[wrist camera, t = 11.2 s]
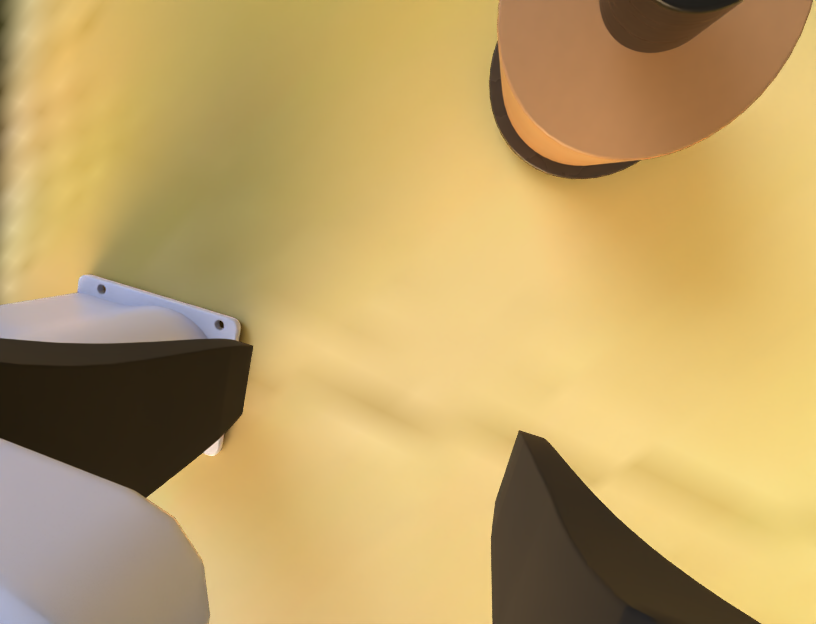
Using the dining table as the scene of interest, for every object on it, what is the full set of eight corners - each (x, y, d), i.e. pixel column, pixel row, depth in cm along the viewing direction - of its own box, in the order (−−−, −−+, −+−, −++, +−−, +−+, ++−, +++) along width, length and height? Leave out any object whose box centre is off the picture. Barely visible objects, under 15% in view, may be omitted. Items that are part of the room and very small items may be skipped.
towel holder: (521, -52, 17) (542, -476, 6) (732, -18, 16) (1240, -454, 5) (469, 156, 19) (415, 133, 8) (648, 197, 18) (856, 233, 7)
